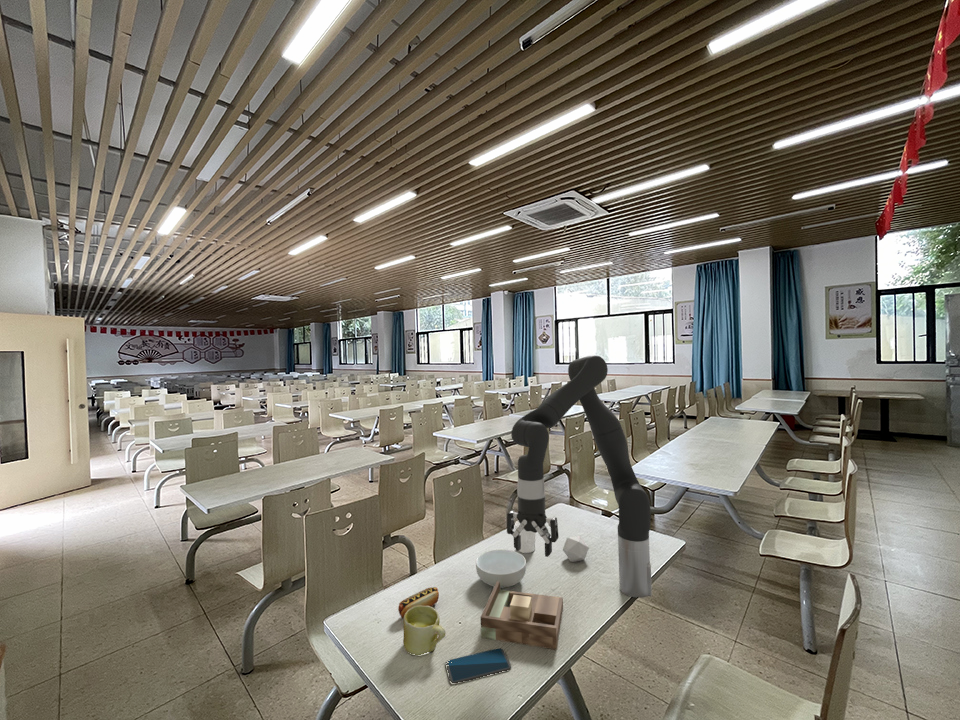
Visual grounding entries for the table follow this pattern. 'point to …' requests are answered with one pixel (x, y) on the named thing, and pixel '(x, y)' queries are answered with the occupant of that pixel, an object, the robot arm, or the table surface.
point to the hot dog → (419, 600)
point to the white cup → (526, 540)
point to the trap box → (532, 633)
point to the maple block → (521, 608)
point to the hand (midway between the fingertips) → (532, 552)
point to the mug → (421, 630)
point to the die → (575, 548)
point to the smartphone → (478, 665)
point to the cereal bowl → (501, 567)
